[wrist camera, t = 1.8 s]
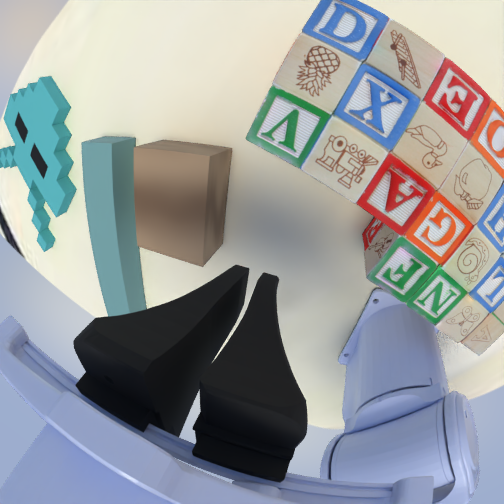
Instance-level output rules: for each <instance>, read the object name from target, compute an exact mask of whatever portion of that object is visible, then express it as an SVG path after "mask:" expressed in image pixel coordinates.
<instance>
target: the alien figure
mask: <svg viewBox="0 0 504 504" xmlns="http://www.w3.org/2000/svg"><path fill="white" fill-rule="evenodd" d="M70 108H71V106H70V105H69V103H68V102H67V100H66V99H65V97H64V96H63V94H62V93H61V91H60V90H59V88H58V86H57V85H56V83H55V82H54V80H53V79H52V77H51V76H48V77H40V78H39V80H38V82H36V83H29V84H28V86H27V88H23V89H19V90H18V93H14V94H11V95H10V98H9V101H8V105H7V108H6V112H5V115H4V121H5V123H6V125H7V128H8V130H9V132H10V134H11V137H12V139H13V141H14V143H15V146H12V147H11V146H9V147H7V148H2V149H0V168H1V167H4V168H6V167H9V166H10V168H12V167H14V166H18V168H19V170H20V172H21V174H22V176H23V178H24V180H25V182H26V184H27V186H28V187H29V189H30V192H29V195H28V202H29V204H30V206H31V207H32V209H33V211H34V214H33V218H32V222H33V224H34V225H35V227H36V229H37V230H38V232H39V234H38V238H37V242H38V243H39V245H40V246H41V248H42V249H43V251H44V252H45V251H47V250H48V249H50V248H51V247H53V244H54V242H55V238H54V236H53V235H52V233H51V232H50V230H49V228H48V225H49V222H50V219H51V218H50V217H49V215H48V214H47V212H46V210H45V209H44V207H43V206H44V203H45V200H46V202H47V204H48V205H49V207H50V208H51V210H52V212H53V213H54V215H55V216H56V217H58V216H60V215H61V214H63V213H65V212H67V209H68V207H69V205H70V203H71V200H72V198H73V196H74V194H75V192H76V190H77V189H76V187H75V186H74V184H73V183H72V182H71V180H70V178H69V177H68V174H69V172H70V169H71V167H72V165H73V163H74V162H73V161H72V159H71V158H70V156H69V155H68V153H67V152H66V150H65V148H66V146H67V144H68V142H69V140H70V138H71V135H72V134H71V133H70V131H69V130H68V128H67V127H66V125H65V124H64V121H65V119H66V117H67V115H68V113H69V110H70Z"/></svg>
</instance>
